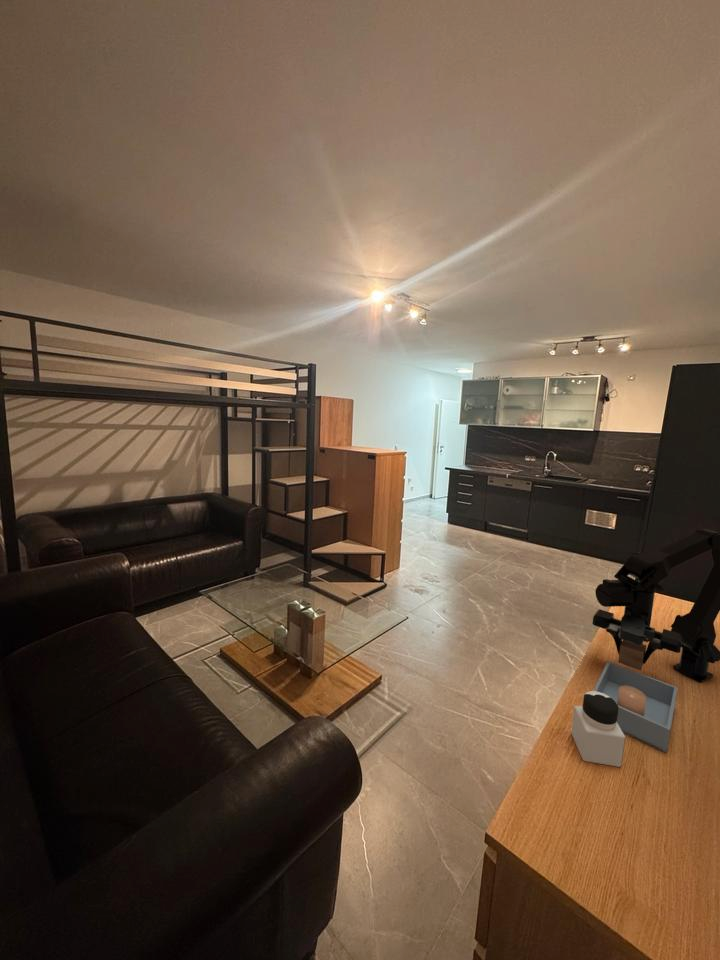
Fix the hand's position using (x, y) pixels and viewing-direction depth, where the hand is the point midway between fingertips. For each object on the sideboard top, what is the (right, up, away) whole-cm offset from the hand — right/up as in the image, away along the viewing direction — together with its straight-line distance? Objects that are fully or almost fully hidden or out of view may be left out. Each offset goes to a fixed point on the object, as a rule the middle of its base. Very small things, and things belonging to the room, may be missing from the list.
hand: (631, 658), depth 101 cm
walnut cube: (0, -1, 0) cm, 1 cm away
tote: (-8, -7, -12) cm, 16 cm away
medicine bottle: (-24, -9, -22) cm, 34 cm away
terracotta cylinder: (-11, -7, -15) cm, 20 cm away
